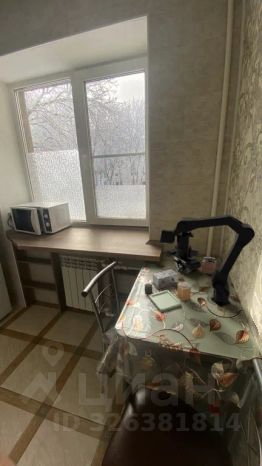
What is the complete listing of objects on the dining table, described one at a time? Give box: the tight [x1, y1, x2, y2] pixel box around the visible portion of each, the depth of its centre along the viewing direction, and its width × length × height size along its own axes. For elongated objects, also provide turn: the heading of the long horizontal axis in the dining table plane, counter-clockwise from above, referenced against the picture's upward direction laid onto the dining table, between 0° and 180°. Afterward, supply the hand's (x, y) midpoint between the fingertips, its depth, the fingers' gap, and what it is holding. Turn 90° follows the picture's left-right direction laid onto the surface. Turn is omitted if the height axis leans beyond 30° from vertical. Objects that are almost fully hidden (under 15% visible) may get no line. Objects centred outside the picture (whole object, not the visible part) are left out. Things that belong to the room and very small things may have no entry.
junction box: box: [150, 268, 180, 291], centre depth 115 cm, size 7×13×6 cm, turn 112°
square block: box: [176, 281, 192, 302], centre depth 103 cm, size 5×5×7 cm
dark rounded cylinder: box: [144, 283, 153, 296], centre depth 108 cm, size 4×4×4 cm
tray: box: [148, 289, 182, 313], centre depth 101 cm, size 12×11×1 cm
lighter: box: [201, 256, 217, 275], centre depth 124 cm, size 8×3×10 cm, turn 77°
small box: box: [177, 256, 197, 275], centre depth 128 cm, size 11×6×10 cm, turn 134°
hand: (182, 274), depth 102 cm, fingers closed
